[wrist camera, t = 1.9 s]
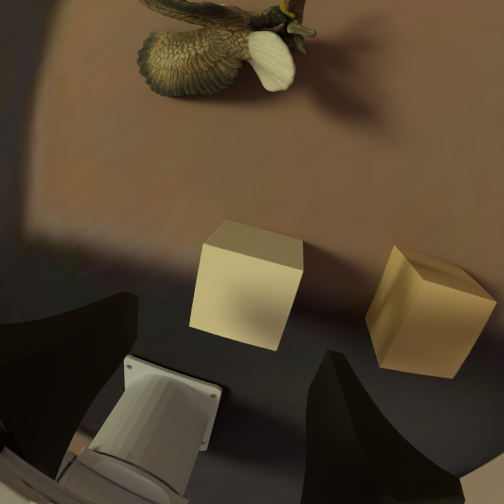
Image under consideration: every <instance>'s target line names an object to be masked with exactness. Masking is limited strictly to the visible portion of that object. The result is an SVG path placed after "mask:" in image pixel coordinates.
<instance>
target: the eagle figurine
mask: <svg viewBox="0 0 504 504" xmlns="http://www.w3.org/2000/svg"><path fill="white" fill-rule="evenodd" d="M138 1H139V2H140V3H141V4H143V5H144V6H145V7H147V8H148V9H150V10H153V11H155V12H157V13H160V14H162V15H164V16H167V17H170V18H174V19H177V20H181V21H184V22H188V23H190V24H195V25H200V26H203V27H204V28H202V29H197V30H194V31H190V32H177V33H168V32H164V31H158V30H156V31H151V32H150V33H149V37H148V38H147V39H145V40H144V41H143V47H142V48H140V49H139V50H138V52H137V53H138V55H139V57H138V58H137V60H136V63H137V65H139V66H140V69H139V73H140V74H141V75H142V76H145V77H147V78H146V80H145V82H146V84H149V85H151V90H152V91H155V92H156V93H158V94H159V93H160V94H161V96H167V97H173V96H183V95H185V94H187V95H191V94H199V93H203V94H215V93H218V92H221V91H222V90H223V89H228V88H230V87H231V85H232V84H234V83H235V76H237V75H238V73H239V70H238V68H241V67H243V66H244V63H245V61H248V62H249V63H250V64H251V66H252V67H253V69H254V70H255V72H256V73H257V75H258V76H259V78H260V80H261V82H262V84H263V86H264V88H265V89H267V90H268V91H271V92H275V91H279V90H287V89H288V88H289V86H290V85H291V84H292V83H293V81H294V76H295V72H296V66H295V64H294V62H293V57H292V55H291V53H290V51H289V48H288V46H287V45H289V46H291V47H294V48H295V49H296V50H297V49H299V50H300V51H301V52H302V53H304V54H305V55H307V54H308V52H309V50H308V47H307V46H306V45H305V44H304V38H303V36H307V37H314V36H316V31H314V30H312V29H308V28H305V27H303V26H301V24H302V19H303V11H304V6H305V1H306V0H283V1H282V3H281V4H280V5H278V6H272V7H270V8H268V9H267V10H265V11H258V12H247V11H243V10H242V9H240V8H238V7H236V6H232V5H226V4H214V3H211V2H202V3H196V2H191V3H190V2H187V1H186V0H138ZM281 23H284V25H283V26H282V27H280V28H279V29H278V30H277V31H258V30H260V29H262V28H264V27H267V28H273V27H274V26H278V25H279V24H281ZM302 35H303V36H302ZM284 42H285V43H286V44H287V45H286V44H285V43H284Z"/></svg>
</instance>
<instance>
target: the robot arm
mask: <svg viewBox="0 0 504 504" xmlns="http://www.w3.org/2000/svg"><path fill="white" fill-rule="evenodd" d="M138 298H139V296H137V295H134V294H132V293H129V292H126V291H124V292H120V293H117V294H115V295H112V296H109V297H107V298H104V299H102V300H99V301H96V302H94V303H91V304H89V305H86V306H83V307H80V308H77V309H74V310H71V311H68V312H65V313H62V314H59V315H56V316H52V317H48V318H43V319H39V320H34V321H28V322H20V323H13V324H0V504H188V502H189V501H188V500H187V499H185V498H183V494H184V491H185V489H186V486H187V483H188V480H189V477H190V474H191V471H192V469H193V466H194V463H195V460H196V457H197V454H198V451H199V450H201V451H205V450H207V447H208V443H209V439H210V436H211V432H212V428H213V424H214V420H215V417H216V413H217V409H218V405H219V402H220V398H221V394H222V388H221V387H220V386H218V385H215V384H212V383H208V382H205V381H202V380H199V379H196V378H192V377H189V376H186V375H183V374H180V373H177V372H174V371H172V370H169V369H166V368H163V367H160V366H157V365H155V364H152V363H149V362H147V361H144V360H141V359H139V358H136V357H134V356H131V355H128V353H129V351H130V349H131V348H132V346H133V344H134V342H135V340H136V339H137V318H138ZM123 361H124V372H125V392H124V394H123V395H122V397H121V398H120V400H119V401H118V403H117V404H116V406H115V407H114V409H113V411H112V412H111V414H110V415H109V417H108V418H107V420H106V421H105V423H104V424H103V426H102V427H101V429H100V431H99V432H98V434H97V435H96V437H95V438H94V440H93V441H92V443H91V445H90V446H89V448H87V447H83V449H82V450H81V452H80V454H79V455H78V457H77V455H76V454H74V453H73V452H71V451H68V452H66V451H67V449H68V447H69V445H70V442H71V440H72V438H73V436H74V434H75V432H76V430H77V428H78V426H79V424H80V422H81V421H82V419H83V417H84V415H85V413H86V412H87V410H88V408H89V406H90V405H91V403H92V401H93V400H94V399H95V397H96V396H97V394H98V393H99V392H100V390H101V389H102V388H103V386H104V385H105V384H106V383H107V381H108V380H109V379H110V377H111V376H112V375H113V374H114V372H115V371H116V370H117V368H118V367H119V366H120V364H121V363H122V362H123ZM130 365H131V366H130ZM213 394H215V395H213ZM464 502H465V498H464V495H463V490H462V486H461V483H460V479H459V478H457V477H455V476H454V475H452V474H450V473H449V472H447V471H445V470H444V469H442V468H440V467H439V466H437V465H436V464H435V463H433V462H432V461H431V460H429V459H428V458H427V457H425V456H424V455H423V454H421V453H420V452H419V451H418V450H417V449H415V448H414V447H413V446H412V445H411V444H410V443H409V442H408V441H407V440H406V439H405V438H404V437H403V436H402V435H401V434H400V433H399V432H398V431H397V430H396V429H395V428H394V427H393V426H392V425H391V423H390V422H389V421H388V420H387V419H386V418H385V416H384V415H383V414H382V413H381V411H380V410H379V409H378V407H377V406H376V405H375V403H374V402H373V400H372V399H371V398H370V396H369V395H368V393H367V392H366V390H365V389H364V387H363V385H362V384H361V382H360V381H359V379H358V377H357V376H356V374H355V372H354V371H353V369H352V367H351V366H350V364H349V362H348V361H347V359H346V358H345V356H344V354H343V353H339V352H334V351H330V350H327V352H326V354H325V356H324V358H323V360H322V362H321V364H320V367H319V369H318V371H317V373H316V375H315V377H314V379H313V381H312V383H311V385H310V387H309V391H308V399H307V408H306V471H305V478H304V485H303V492H302V497H301V503H300V504H464Z"/></svg>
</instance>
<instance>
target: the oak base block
mask: <svg viewBox="0 0 504 504" xmlns="http://www.w3.org/2000/svg"><path fill="white" fill-rule="evenodd" d="M496 303H497V302H496V301H495V300H494V299H493V298H492V297H491V296H490V295H489V294H488V293H487V292H486V291H485V290H484V289H483V288H482V287H481V286H480V285H479V284H478V283H477V282H476V281H475V280H474V279H473V278H472V277H470V276H469V275H468V274H467V273H466V272H465V271H464V270H463V269H462V268H461V267H460V266H457V265H454V264H451V263H448V262H445V261H442V260H439V259H436V258H433V257H430V256H427V255H424V254H421V253H418V252H415V251H412V250H409V249H406V248H403V247H399V246H396V245H394V247H393V250H392V253H391V255H390V258H389V260H388V263H387V266H386V268H385V271H384V273H383V276H382V278H381V281H380V283H379V286H378V288H377V290H376V293H375V295H374V298H373V300H372V302H371V305H370V307H369V309H368V311H367V314H366V316H365V321H366V324H367V327H368V330H369V333H370V337H371V340H372V343H373V347H374V350H375V353H376V357H377V360H378V364H379V367H381V368H386V369H392V370H398V371H404V372H410V373H416V374H423V375H430V376H437V377H444V378H452V379H453V377H454V376H455V374H456V373H457V371H458V370H459V368H460V367H461V365H462V363H463V362H464V360H465V359H466V357H467V355H468V354H469V352H470V351H471V349H472V347H473V346H474V344H475V342H476V340H477V339H478V337H479V335H480V333H481V332H482V330H483V328H484V326H485V324H486V322H487V320H488V319H489V317H490V315H491V313H492V311H493V309H494V307H495V305H496Z"/></svg>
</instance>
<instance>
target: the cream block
mask: <svg viewBox="0 0 504 504" xmlns="http://www.w3.org/2000/svg"><path fill="white" fill-rule="evenodd" d="M302 274H303V240H299V239H295V238H292V237H288V236H284V235H281V234H277V233H273V232H270V231H266V230H262V229H259V228H255V227H251V226H247V225H243V224H240V223H236V222H232V221H228V220H225V221H224V222H223V223H222V224H221V225H220V226H219V227H218V229H217V230H216V231H215V232H214V233H213V234H212V235H211V236H210V237H209V238H208V239H207V240H206V241H205V242H204V243H203V248H202V254H201V259H200V265H199V271H198V276H197V282H196V288H195V294H194V300H193V306H192V312H191V318H190V325H189V326H190V327H193V328H197V329H200V330H203V331H206V332H210V333H213V334H216V335H220V336H223V337H227V338H230V339H234V340H237V341H241V342H244V343H248V344H252V345H255V346H259V347H263V348H267V349H270V350H274V351H276V350H277V347H278V345H279V342H280V339H281V336H282V333H283V330H284V327H285V325H286V322H287V319H288V316H289V313H290V310H291V307H292V304H293V301H294V298H295V295H296V292H297V289H298V286H299V283H300V280H301V277H302Z"/></svg>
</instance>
